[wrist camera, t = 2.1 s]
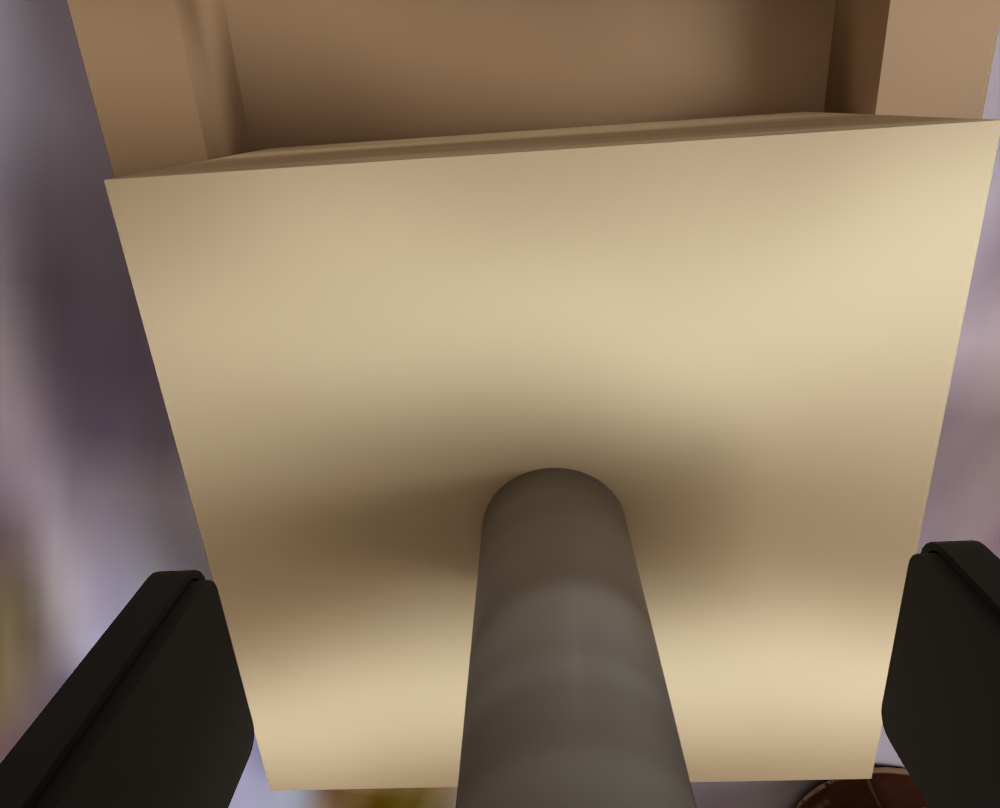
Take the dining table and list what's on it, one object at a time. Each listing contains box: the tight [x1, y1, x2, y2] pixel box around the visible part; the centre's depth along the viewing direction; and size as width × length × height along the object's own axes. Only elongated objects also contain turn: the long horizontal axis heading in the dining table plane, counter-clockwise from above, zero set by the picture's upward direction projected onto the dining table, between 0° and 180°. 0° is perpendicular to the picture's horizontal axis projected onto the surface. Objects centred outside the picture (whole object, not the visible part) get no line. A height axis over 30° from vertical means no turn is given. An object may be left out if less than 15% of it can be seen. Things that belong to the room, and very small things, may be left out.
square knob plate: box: [104, 112, 1000, 808], centre depth 12 cm, size 12×12×13 cm
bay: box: [67, 0, 1000, 178], centre depth 16 cm, size 26×17×3 cm, turn 4°
